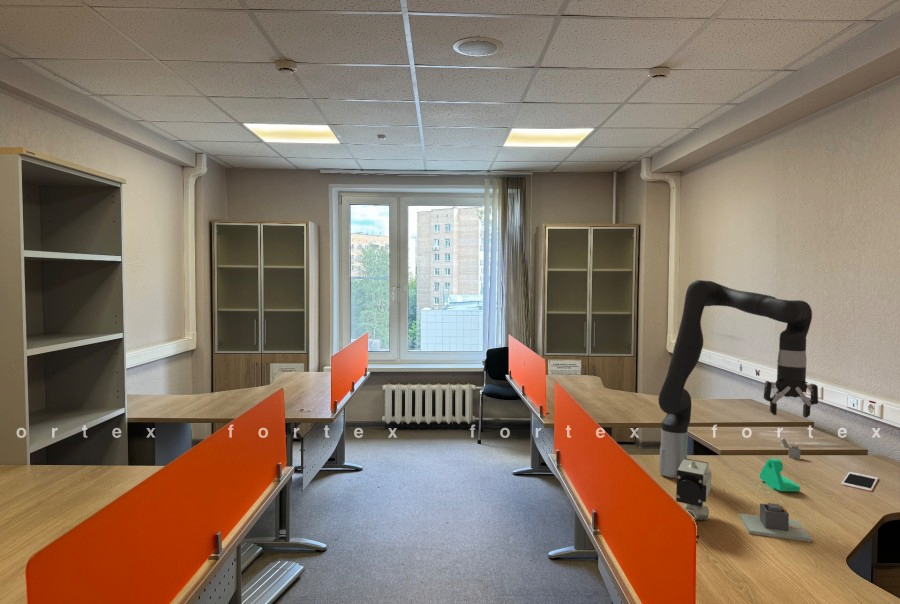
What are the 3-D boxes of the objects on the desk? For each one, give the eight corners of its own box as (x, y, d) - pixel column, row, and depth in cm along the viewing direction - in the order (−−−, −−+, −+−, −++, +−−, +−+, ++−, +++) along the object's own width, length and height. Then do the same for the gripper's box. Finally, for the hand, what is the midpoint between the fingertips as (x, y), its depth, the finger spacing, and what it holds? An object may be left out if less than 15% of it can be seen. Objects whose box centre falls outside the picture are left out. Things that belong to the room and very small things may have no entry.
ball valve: (705, 532, 156) (707, 473, 155) (674, 525, 160) (676, 467, 160) (712, 510, 171) (713, 456, 170) (683, 504, 176) (685, 451, 175)
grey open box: (765, 528, 157) (765, 510, 157) (759, 519, 163) (760, 502, 162) (788, 530, 155) (788, 512, 155) (782, 521, 161) (782, 504, 161)
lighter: (799, 458, 224) (800, 439, 223) (800, 459, 222) (800, 440, 222) (780, 455, 227) (780, 436, 227) (780, 456, 226) (780, 437, 225)
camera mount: (801, 494, 186) (802, 465, 185) (779, 494, 186) (780, 465, 185) (779, 481, 198) (780, 454, 197) (759, 481, 198) (760, 453, 197)
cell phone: (878, 479, 201) (878, 477, 201) (871, 493, 188) (871, 490, 188) (849, 473, 207) (849, 471, 207) (840, 486, 194) (840, 483, 194)
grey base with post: (749, 533, 155) (750, 510, 155) (739, 516, 167) (740, 494, 167) (812, 542, 151) (813, 517, 151) (797, 523, 162) (798, 501, 162)
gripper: (769, 364, 164) (767, 416, 164) (822, 367, 160) (820, 420, 160) (762, 361, 171) (760, 411, 172) (813, 363, 167) (811, 414, 167)
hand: (789, 415), depth 166 cm, fingers open, 8 cm apart
